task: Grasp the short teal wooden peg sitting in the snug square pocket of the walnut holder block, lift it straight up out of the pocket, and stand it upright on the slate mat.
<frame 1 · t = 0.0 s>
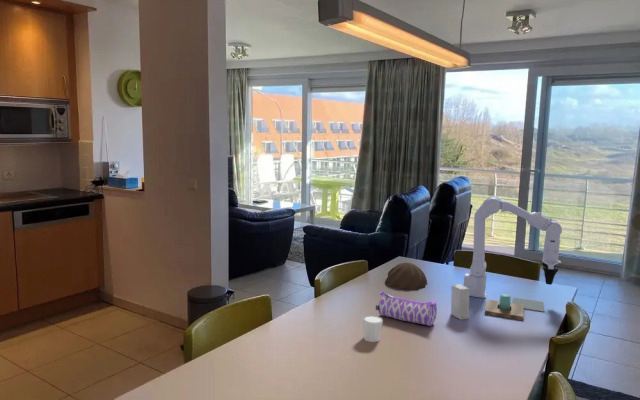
hand: (548, 281, 197), 10 cm above the table, tool pointing down, fingers open, 7 cm apart
holder block: (504, 311, 190), on the table
peg: (504, 303, 190), in the holder block
white cylinder: (371, 339, 162), on the table
skincare box: (458, 317, 183), on the table
slate mat: (528, 305, 197), on the table
pencil case: (406, 320, 179), on the table
decorative dome: (406, 283, 223), on the table
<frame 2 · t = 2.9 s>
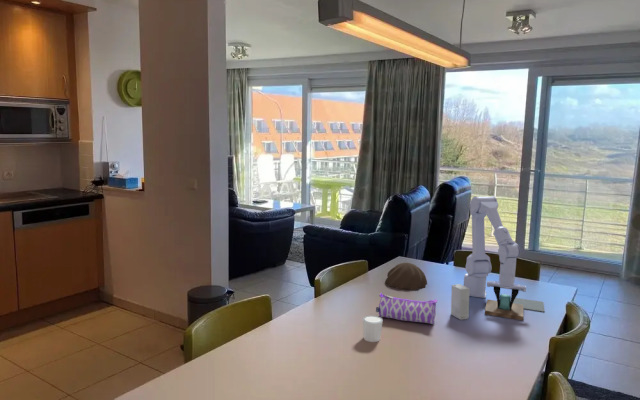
hand: (504, 305, 190), 2 cm above the table, tool pointing down, fingers closed on peg, 4 cm apart
peg: (504, 303, 190), in the holder block, touching gripper
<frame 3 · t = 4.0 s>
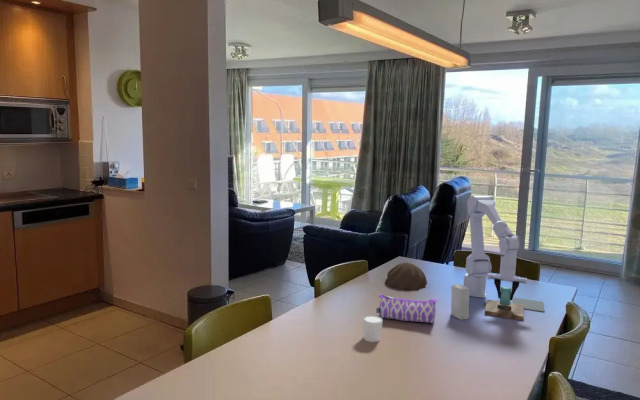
hand: (505, 298, 189), 5 cm above the table, tool pointing down, fingers closed on peg, 4 cm apart
peg: (505, 296, 189), point 6 cm above the table, touching gripper
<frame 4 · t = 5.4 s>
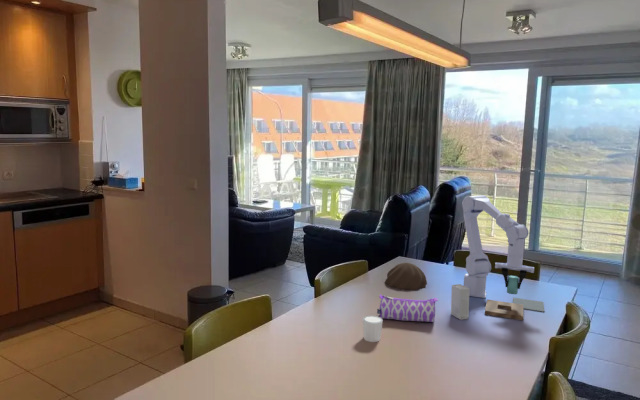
hand: (512, 287, 191), 9 cm above the table, tool pointing down, fingers closed on peg, 4 cm apart
peg: (512, 284, 190), point 10 cm above the table, touching gripper
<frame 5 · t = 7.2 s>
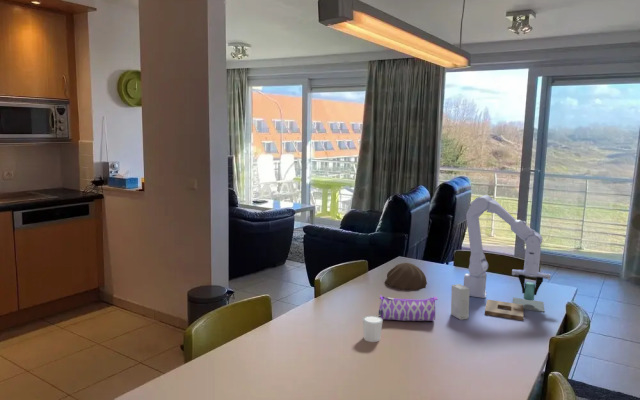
hand: (529, 293, 197), 5 cm above the table, tool pointing down, fingers closed on peg, 4 cm apart
peg: (529, 291, 196), point 6 cm above the table, touching gripper
when the fingers open (3 cm above the table, at t = 8.4 s): peg stays where it is, resting on slate mat.
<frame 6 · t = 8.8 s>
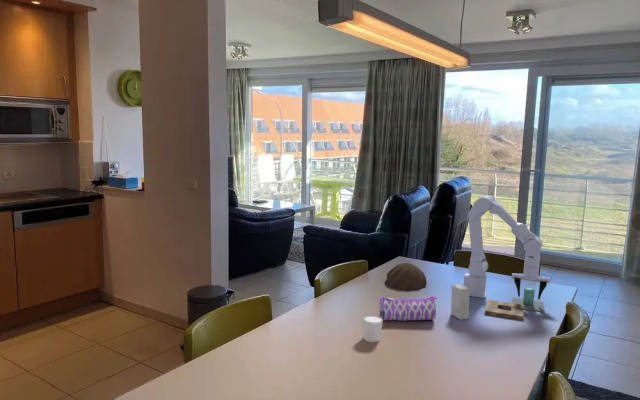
hand: (528, 297, 197), 3 cm above the table, tool pointing down, fingers open, 7 cm apart
peg: (528, 296, 197), on the slate mat
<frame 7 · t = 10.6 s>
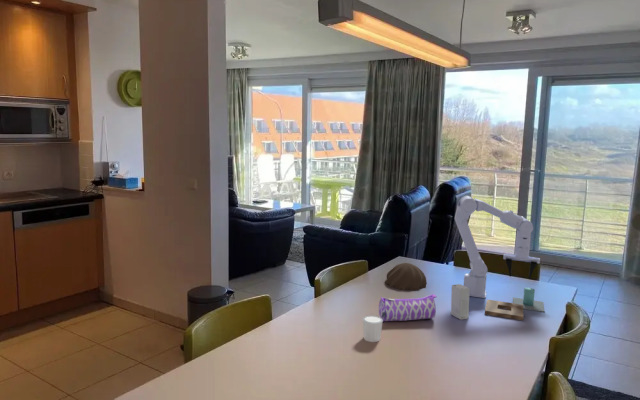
hand: (519, 277, 205), 9 cm above the table, tool pointing down, fingers open, 7 cm apart
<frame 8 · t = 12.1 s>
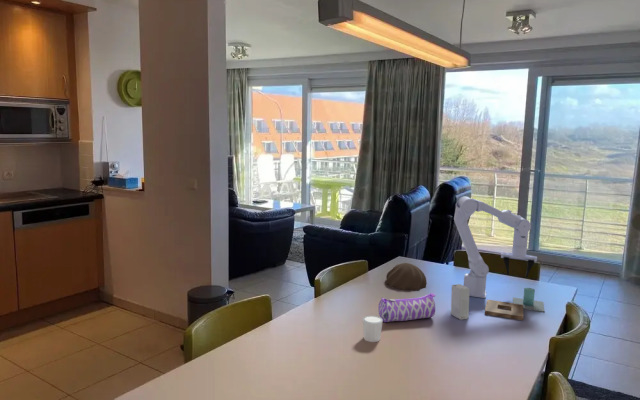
hand: (517, 275, 207), 9 cm above the table, tool pointing down, fingers open, 7 cm apart
at the end: peg 0.1 cm off-centre on the slate mat, point 3.6 cm above the slate mat's base; peg tilted 0°; the gripper is holding nothing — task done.
